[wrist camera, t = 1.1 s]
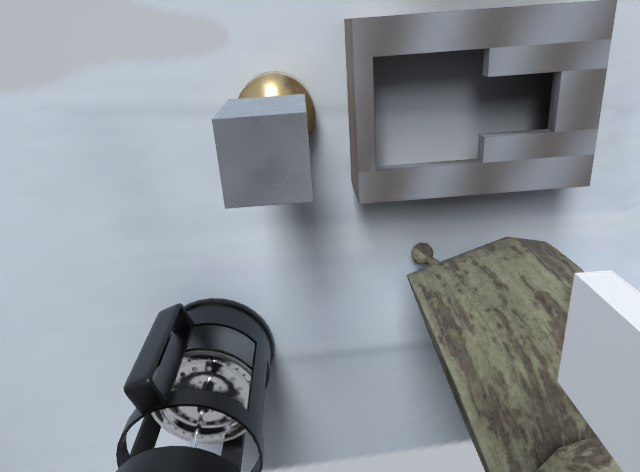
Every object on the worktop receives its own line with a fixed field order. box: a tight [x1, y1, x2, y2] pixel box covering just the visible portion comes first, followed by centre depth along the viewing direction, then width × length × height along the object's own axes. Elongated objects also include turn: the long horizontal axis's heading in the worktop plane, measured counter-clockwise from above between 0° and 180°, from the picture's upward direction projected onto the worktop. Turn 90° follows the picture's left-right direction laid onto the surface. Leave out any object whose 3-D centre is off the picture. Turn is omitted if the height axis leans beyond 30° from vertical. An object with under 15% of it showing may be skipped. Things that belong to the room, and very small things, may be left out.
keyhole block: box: [344, 0, 617, 204], centre depth 33 cm, size 15×11×5 cm
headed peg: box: [212, 71, 315, 209], centre depth 28 cm, size 5×5×14 cm
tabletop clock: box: [407, 237, 623, 472], centre depth 30 cm, size 14×9×25 cm, turn 22°
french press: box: [116, 298, 274, 472], centre depth 31 cm, size 12×9×23 cm
